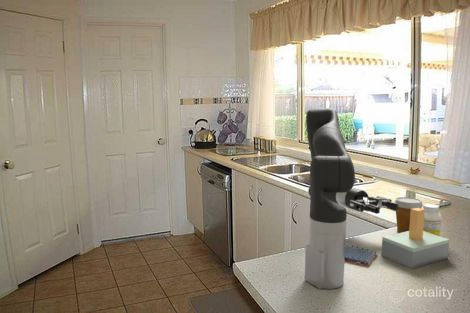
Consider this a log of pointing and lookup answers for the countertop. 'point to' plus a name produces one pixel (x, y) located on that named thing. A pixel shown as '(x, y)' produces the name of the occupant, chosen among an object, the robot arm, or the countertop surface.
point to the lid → (416, 234)
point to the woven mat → (359, 256)
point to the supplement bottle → (432, 219)
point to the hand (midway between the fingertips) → (388, 208)
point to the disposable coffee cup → (405, 212)
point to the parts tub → (414, 254)
